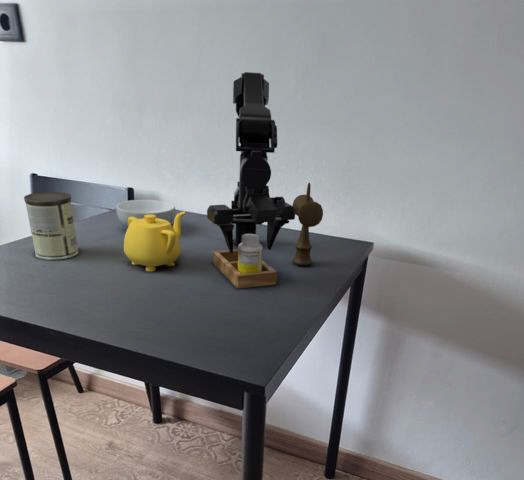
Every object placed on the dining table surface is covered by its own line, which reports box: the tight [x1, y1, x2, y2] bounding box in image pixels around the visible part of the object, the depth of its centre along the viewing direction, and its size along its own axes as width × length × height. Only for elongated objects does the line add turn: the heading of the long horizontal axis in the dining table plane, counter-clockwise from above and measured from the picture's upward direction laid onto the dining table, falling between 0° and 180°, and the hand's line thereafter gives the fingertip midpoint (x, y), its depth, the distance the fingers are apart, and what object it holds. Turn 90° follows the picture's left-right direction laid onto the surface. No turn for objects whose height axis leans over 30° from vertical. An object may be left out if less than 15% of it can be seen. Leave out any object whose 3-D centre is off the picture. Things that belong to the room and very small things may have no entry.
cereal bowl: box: [115, 199, 176, 228], centre depth 142 cm, size 17×17×7 cm
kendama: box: [292, 182, 324, 267], centre depth 119 cm, size 6×10×20 cm, turn 8°
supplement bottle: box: [237, 233, 264, 274], centre depth 110 cm, size 6×6×10 cm
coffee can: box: [23, 191, 80, 261], centre depth 118 cm, size 10×10×14 cm
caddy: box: [212, 248, 278, 290], centre depth 115 cm, size 18×9×3 cm, turn 23°
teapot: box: [123, 210, 186, 272], centre depth 116 cm, size 14×14×12 cm
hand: (250, 251), depth 109 cm, fingers open, 9 cm apart
